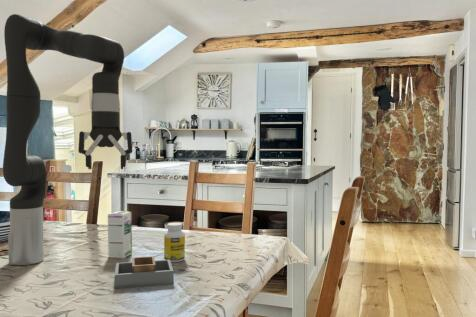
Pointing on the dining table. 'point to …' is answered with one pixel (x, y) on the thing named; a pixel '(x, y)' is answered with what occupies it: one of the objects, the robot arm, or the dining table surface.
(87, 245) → the dining table surface
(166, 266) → the crate big
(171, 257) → the pill bottle
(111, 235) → the syrup box
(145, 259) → the crate small
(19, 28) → the robot arm
